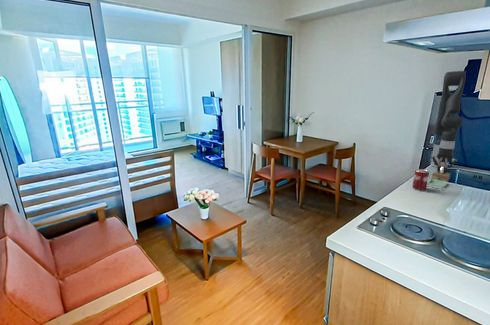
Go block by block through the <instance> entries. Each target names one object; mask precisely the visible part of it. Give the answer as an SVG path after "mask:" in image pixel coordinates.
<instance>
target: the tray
mask: <svg viewBox="0 0 490 325" xmlns="http://www.w3.org/2000/svg"><path fill="white" fill-rule="evenodd" d="M433 182H435V183H433ZM436 183H440V184H436ZM448 183H449V181H448V182H446V181H441V180H436V179H431V178H430V179H428V182H427V188H429V187H430V188H433V189H435V188H436V189H438V190H442V191H443V190H444V188H445V187H447V185H448ZM441 184H443V185H441Z"/></svg>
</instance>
